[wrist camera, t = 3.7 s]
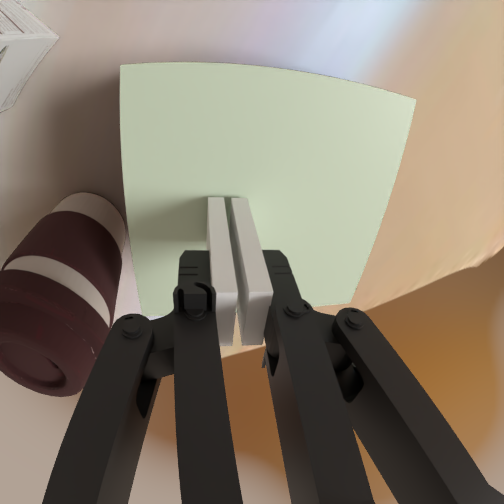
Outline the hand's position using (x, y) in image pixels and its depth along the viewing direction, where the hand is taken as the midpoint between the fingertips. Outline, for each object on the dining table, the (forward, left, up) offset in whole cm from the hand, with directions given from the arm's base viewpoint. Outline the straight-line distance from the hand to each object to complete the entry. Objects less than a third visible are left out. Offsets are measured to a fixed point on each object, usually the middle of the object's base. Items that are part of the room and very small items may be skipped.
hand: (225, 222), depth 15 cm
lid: (0, +2, -1) cm, 3 cm away
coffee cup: (+6, -11, -10) cm, 17 cm away
